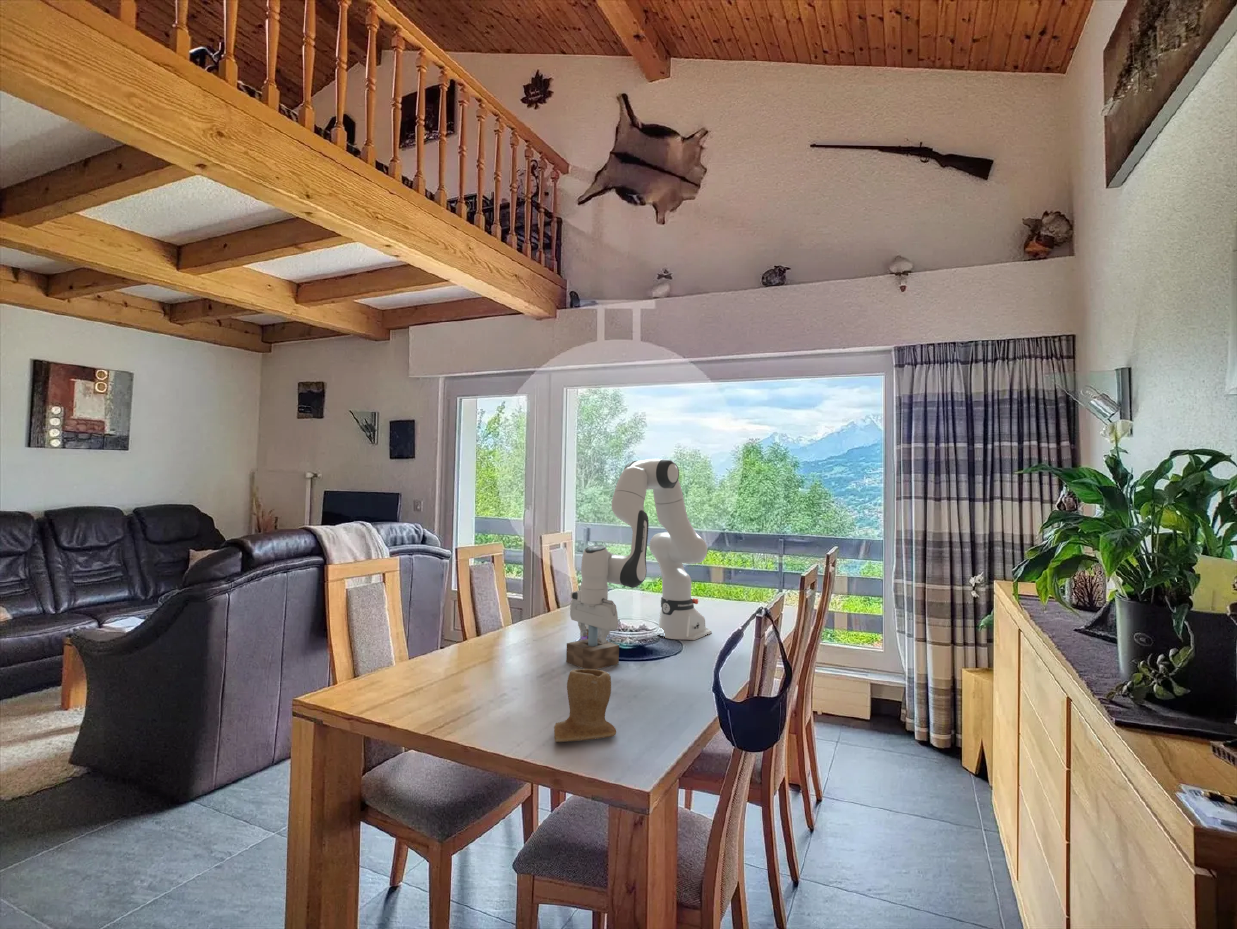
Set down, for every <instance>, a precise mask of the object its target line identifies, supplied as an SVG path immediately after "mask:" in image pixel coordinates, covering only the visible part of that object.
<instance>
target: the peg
mask: <svg viewBox="0 0 1237 929" xmlns="http://www.w3.org/2000/svg"><path fill="white" fill-rule="evenodd" d="M597 639H598V628H597V627H594V626H590V625H589V629H588V646H591V647H594V646H597Z"/></svg>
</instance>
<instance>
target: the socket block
mask: <svg viewBox="0 0 1237 929" xmlns="http://www.w3.org/2000/svg"><path fill="white" fill-rule="evenodd" d="M619 656H620V645H619V644H617V643H613V642H611V641H609V642H608V641H606V642H605V643H601V642H599V639H597V646H594V647H591V646H588V639H585V640H577V641H571V642H570V641H569V642H567V643H566V657H565V662H566V663H567V664H571V665H573V666H576V667H578V668H580V669H596V670H601V669H603V668H607V667H608V668H609V667H611V665H612V666H615V665H619V660H620V659H619V658H620V657H619Z"/></svg>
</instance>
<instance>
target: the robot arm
mask: <svg viewBox="0 0 1237 929" xmlns="http://www.w3.org/2000/svg"><path fill="white" fill-rule="evenodd" d="M679 477H680V469H679V467H678V465H677V463H676V462H675V461H674V460H673V459H668V458H648V459H642V460H633V461H630V462H628V463H627V464H626V465H625V466H624V468H623V470H622V472H621V474H620V475H619V478H618V480H617V483H616V486H615V489H614V491H613V495H612V499H611V510H612V512H613V514H614V515H615V517H616V518H618V519H619V520H620V521H621V522H623V523H625V524H627V525H628V526H630V527H631V530H632V534H631V535H632V536H631V546H630V553H629V554H628V555H623V554H622V555H621V554H616V553H612V552H610V551H608V548H607V547H606V546H605V545H601V544H596V545H590V546H587V547H586V548H585V549H583V553H582V558H581V568H580V569H581V570H580V574H581V584H580V590H575V591H572V592H571V593H570V595H569V596H570V599H571V600H570V604H569V605H570V606H569V616H570V619H571V620H572V621H575V622H577V626H578V628H579V632H580V633H579V635H580V636H583V637H585V636H587V631H586V629H585V625H586V624H587V625H590V626H594V627H597V628H600V629H601V632H603V633H602V636H600V637H599V642H601V643H605V642H606V637H607V635H608V633H609V631H610V632H613V631H616V630H617V629H618V628H619V618H618V617H619V616H618V610H617V605H616V604H615V602H614V601H613V600H612V599H611V600H610V599H609V586H608V583H609V584H613V585H619V586H624V587H626V588H627V587H628V588H631V589H634V588H637V587H639V586H640V585H641V584H643V582H644V581H645V579H646V577H647V573H648V572H647V551H648V550H647V549H648V540H649V526H650V525H649V522H650V521H649V516H648V514H647V512H646V511H645V504H644V503H645V500H646V495H647V490H652V492H653V500H654V501H653V502H654V506H655V510H656V511H655V512H656V516H657V517H656V518H657V521H658V523H659V524H660V525H661V526H662V527H663V528H664V529H665V530H666V531H663V532H658V533H655V534H654V535H653V536H652V537H651V539H650V541H649V550H650V552H651V553H650V554H652V555H653V557H654V558H655V560H656V561H657V562H656V563H658V566H659V569H660V573H661V578H662V579H661V580H662V582H661V583H662V587H661V588H662V589H661V590H662V592H661V593H662V594H661V598H660V608H661V609H660V612H659V619H658V627H660V628H662V629H663V630H664V633H665V639H670V640H688V641H689V640H690V641H695V640H698V639H701V638H702V637H706V636H708V635H710V634H712V630H711V629H710V628H707V627H706V626H707V625H706V619H705V617H704V616H703V614H701V613H700V612H699V611H698V610H697V609H696V608H695V606H694V604H695V605H698V604H699V602H700V601H699V599H698V598H694V597H693V598H692V578H691V576H690V575H689V573H688V572H687V571H686V570H685V568H684V564H686V565H692V564H693V565H694V564H700V563H703V561H704V560H705V559H706V557H707V555H708V554H707V553H708V545H707V542H706V541H705V540H704V538H702V537H701V536H700V535H699V534H698V533H697V532H696V530H695V529H694V527H693V526H692V523H691V522H690V519H689V517H688V514H687V509H686V506H685V505H686V504H685V498H684V494H683V491H682V490H683V489H682V487H681V483H680V480H679ZM707 634H708V635H707ZM705 635H706V636H705ZM580 636H579V637H580Z"/></svg>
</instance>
